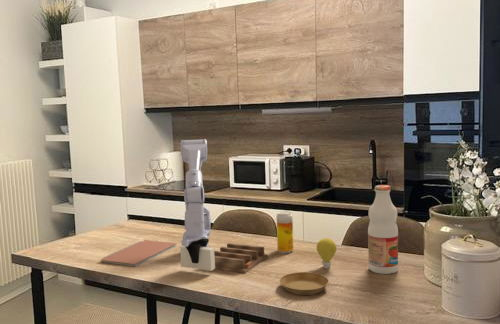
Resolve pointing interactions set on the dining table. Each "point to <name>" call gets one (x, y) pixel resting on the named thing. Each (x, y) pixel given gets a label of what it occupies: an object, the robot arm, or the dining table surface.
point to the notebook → (138, 253)
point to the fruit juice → (383, 233)
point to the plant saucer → (304, 283)
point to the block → (204, 261)
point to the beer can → (284, 232)
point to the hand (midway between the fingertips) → (197, 261)
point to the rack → (238, 257)
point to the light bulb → (326, 251)
